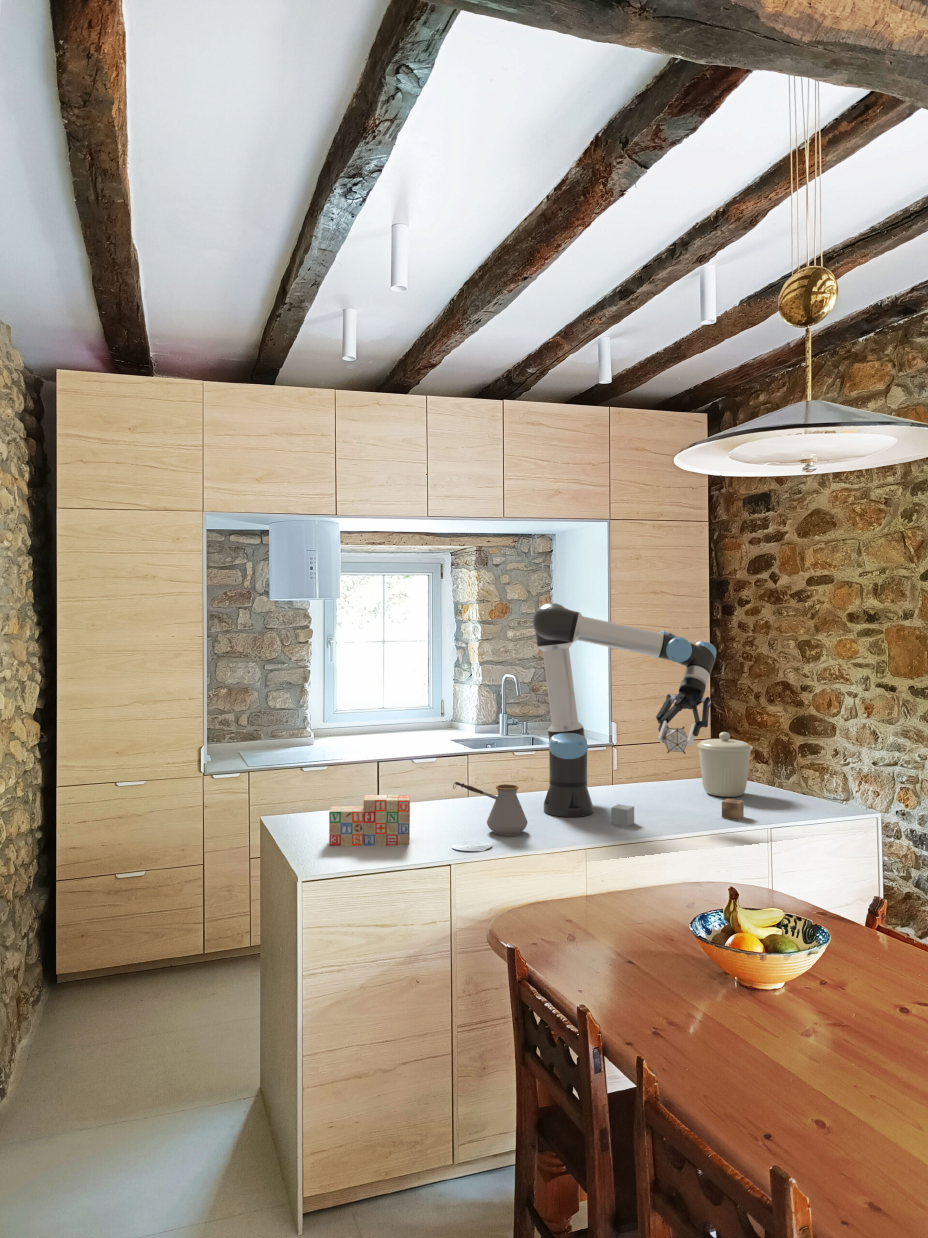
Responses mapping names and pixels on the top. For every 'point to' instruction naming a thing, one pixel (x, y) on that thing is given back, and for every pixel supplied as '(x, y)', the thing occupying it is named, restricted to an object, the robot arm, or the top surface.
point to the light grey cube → (622, 815)
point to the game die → (675, 739)
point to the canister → (724, 765)
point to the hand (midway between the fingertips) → (674, 742)
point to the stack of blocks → (371, 822)
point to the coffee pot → (504, 810)
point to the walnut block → (733, 809)
